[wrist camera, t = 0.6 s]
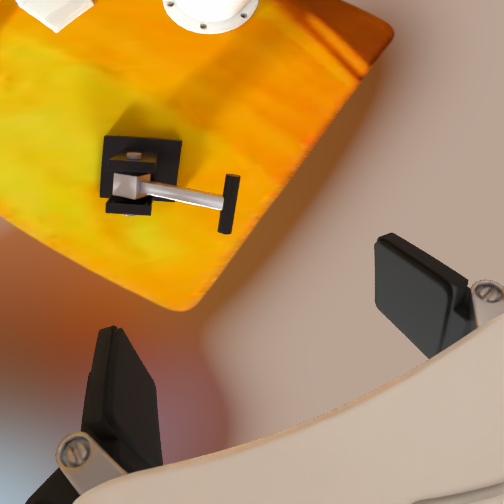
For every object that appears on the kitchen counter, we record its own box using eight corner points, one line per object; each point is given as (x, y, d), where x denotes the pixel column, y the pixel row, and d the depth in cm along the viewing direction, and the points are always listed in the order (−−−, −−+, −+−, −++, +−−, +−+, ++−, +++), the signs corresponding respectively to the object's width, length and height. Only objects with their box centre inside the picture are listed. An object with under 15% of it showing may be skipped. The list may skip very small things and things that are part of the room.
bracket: (181, 140, 38) (188, 148, 27) (174, 200, 41) (178, 232, 30) (105, 135, 35) (80, 142, 24) (101, 195, 38) (77, 227, 27)
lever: (244, 175, 27) (235, 178, 24) (235, 230, 28) (226, 237, 26) (129, 156, 29) (114, 157, 26) (125, 204, 30) (111, 209, 28)
